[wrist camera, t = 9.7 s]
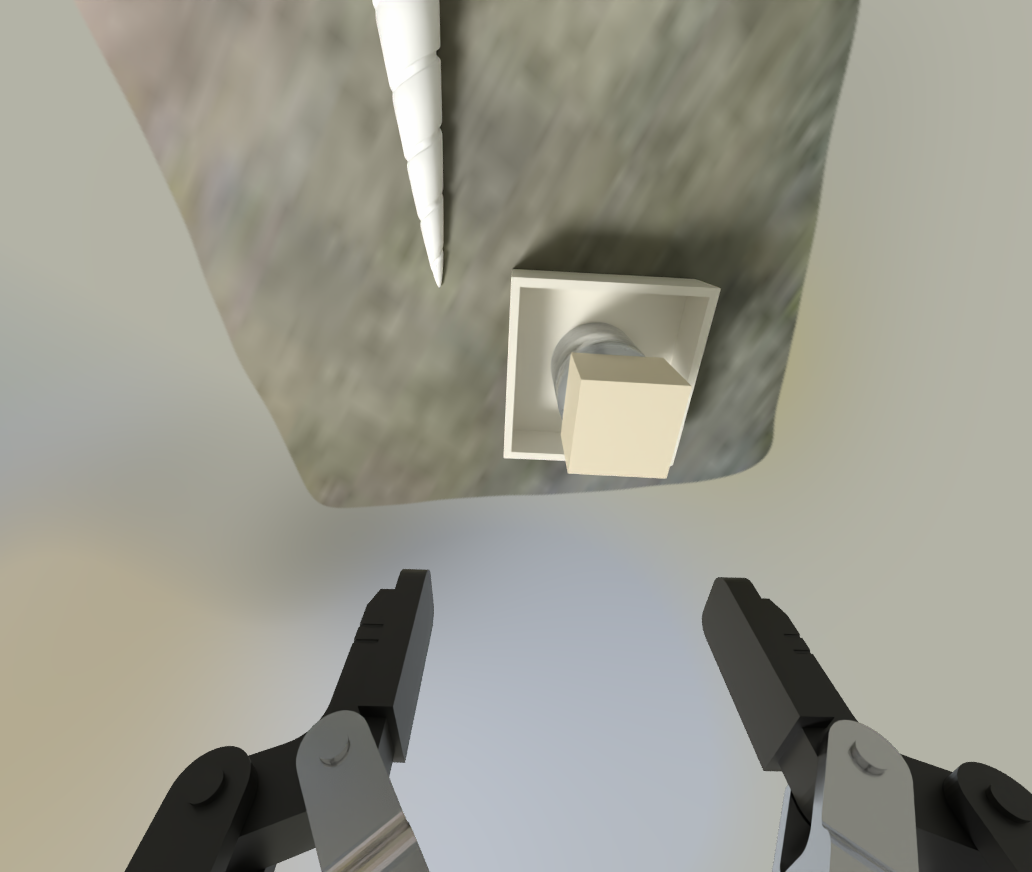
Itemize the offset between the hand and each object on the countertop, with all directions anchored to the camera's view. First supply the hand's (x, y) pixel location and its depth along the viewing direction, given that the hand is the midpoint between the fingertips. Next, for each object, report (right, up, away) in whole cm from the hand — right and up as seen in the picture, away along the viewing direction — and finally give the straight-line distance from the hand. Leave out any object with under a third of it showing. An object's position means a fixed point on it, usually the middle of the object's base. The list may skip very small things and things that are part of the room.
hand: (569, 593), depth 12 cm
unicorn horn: (-7, +27, +15) cm, 32 cm away
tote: (+5, +11, +23) cm, 26 cm away
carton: (+5, +7, +16) cm, 18 cm away
